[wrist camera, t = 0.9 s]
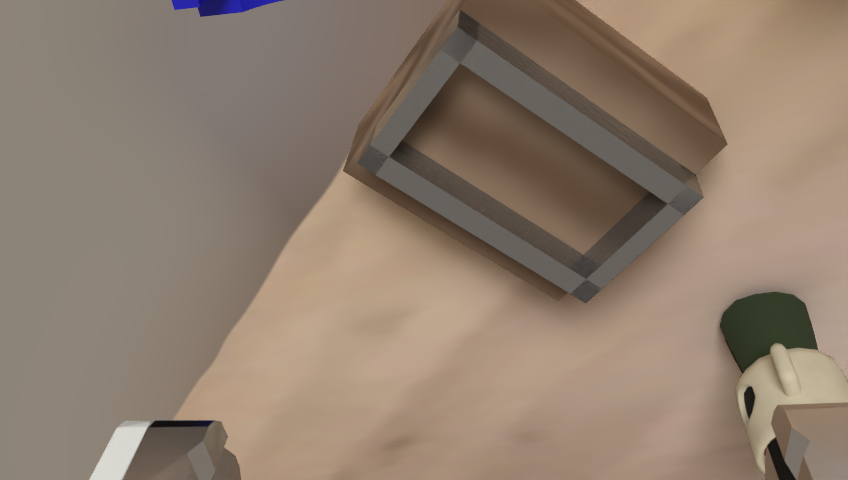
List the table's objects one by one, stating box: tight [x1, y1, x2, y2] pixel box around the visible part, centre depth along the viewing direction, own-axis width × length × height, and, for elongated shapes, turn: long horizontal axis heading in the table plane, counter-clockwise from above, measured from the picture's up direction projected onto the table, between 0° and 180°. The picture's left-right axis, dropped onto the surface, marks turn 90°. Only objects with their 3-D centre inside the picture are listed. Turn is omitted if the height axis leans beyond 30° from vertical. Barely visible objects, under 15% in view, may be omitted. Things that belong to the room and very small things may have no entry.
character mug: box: [720, 292, 848, 475], centre depth 54 cm, size 11×7×13 cm, turn 27°
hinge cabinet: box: [343, 0, 727, 303], centre depth 48 cm, size 15×17×8 cm
